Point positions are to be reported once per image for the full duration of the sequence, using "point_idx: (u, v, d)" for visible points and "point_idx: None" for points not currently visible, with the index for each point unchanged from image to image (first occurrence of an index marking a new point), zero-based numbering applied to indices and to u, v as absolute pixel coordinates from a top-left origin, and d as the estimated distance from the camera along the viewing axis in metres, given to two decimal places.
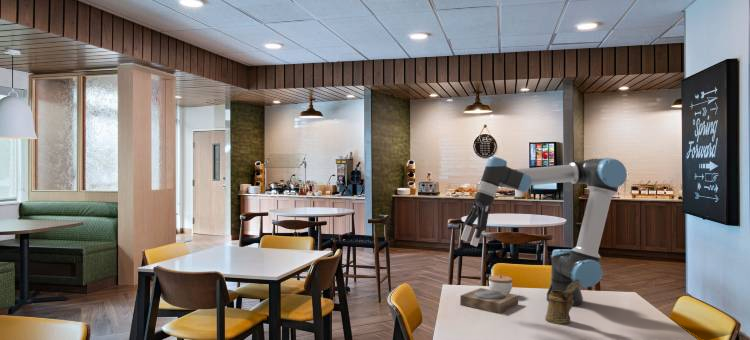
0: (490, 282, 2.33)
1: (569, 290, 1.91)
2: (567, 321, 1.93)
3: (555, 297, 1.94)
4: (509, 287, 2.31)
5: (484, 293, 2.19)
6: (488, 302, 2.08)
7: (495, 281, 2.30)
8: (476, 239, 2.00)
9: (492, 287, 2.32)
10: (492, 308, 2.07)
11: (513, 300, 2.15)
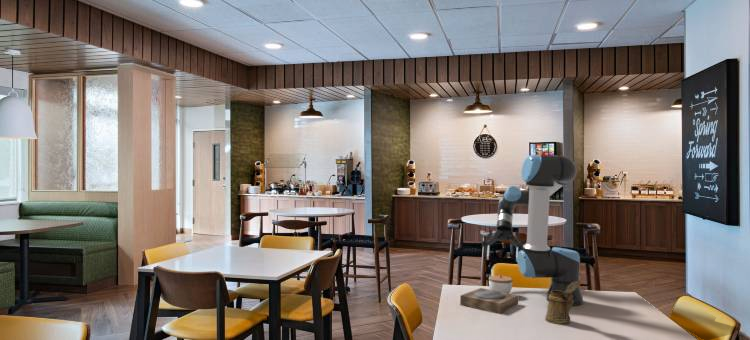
0: (490, 282, 2.33)
1: (569, 290, 1.91)
2: (567, 321, 1.93)
3: (555, 297, 1.94)
4: (509, 287, 2.31)
5: (484, 293, 2.19)
6: (488, 302, 2.08)
7: (495, 281, 2.30)
8: (487, 253, 2.48)
9: (492, 287, 2.32)
10: (492, 308, 2.07)
11: (513, 300, 2.15)
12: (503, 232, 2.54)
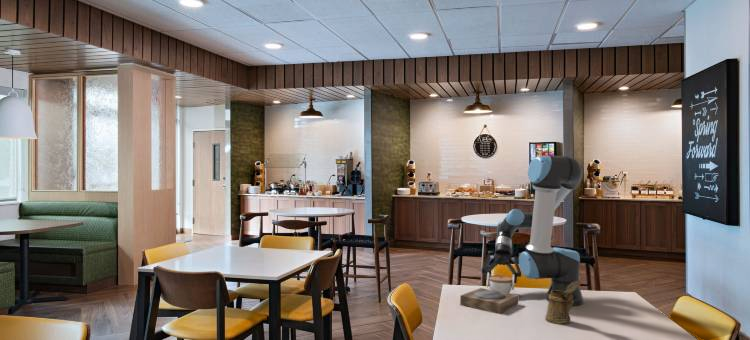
0: (490, 282, 2.33)
1: (569, 290, 1.91)
2: (567, 321, 1.93)
3: (555, 297, 1.94)
4: (509, 287, 2.31)
5: (484, 293, 2.19)
6: (488, 302, 2.08)
7: (495, 281, 2.30)
8: None
9: (492, 287, 2.32)
10: (492, 308, 2.07)
11: (513, 300, 2.15)
12: (502, 256, 2.42)
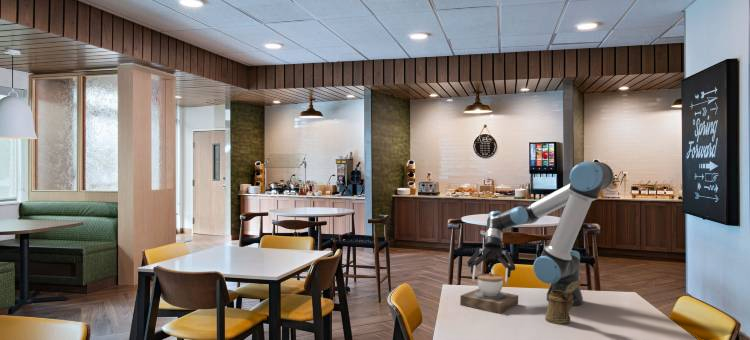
0: (479, 281, 2.16)
1: (569, 290, 1.91)
2: (567, 321, 1.93)
3: (555, 297, 1.94)
4: (499, 286, 2.13)
5: None
6: (488, 302, 2.08)
7: (484, 280, 2.13)
8: (473, 274, 2.19)
9: (481, 286, 2.15)
10: (492, 308, 2.07)
11: (513, 300, 2.15)
12: (492, 250, 2.24)
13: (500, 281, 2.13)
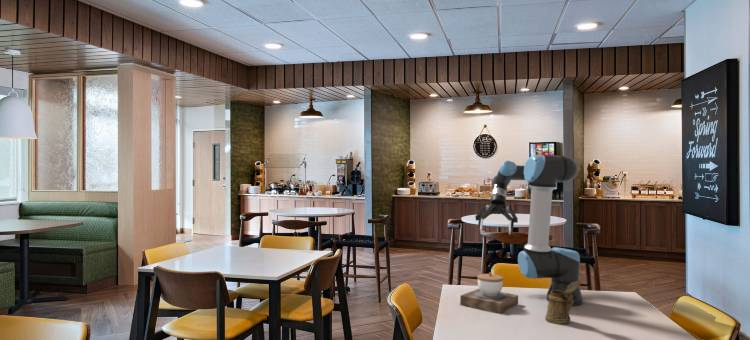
0: (479, 281, 2.16)
1: (569, 290, 1.91)
2: (567, 321, 1.93)
3: (555, 297, 1.94)
4: (499, 286, 2.13)
5: None
6: (488, 302, 2.08)
7: (484, 280, 2.13)
8: None
9: (481, 286, 2.15)
10: (492, 308, 2.07)
11: (513, 300, 2.15)
12: (497, 206, 2.54)
13: (500, 281, 2.13)
